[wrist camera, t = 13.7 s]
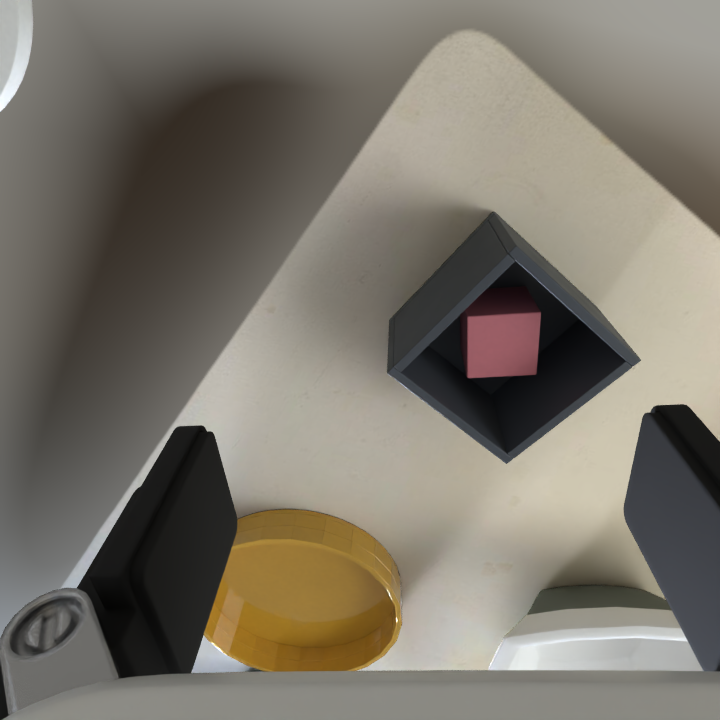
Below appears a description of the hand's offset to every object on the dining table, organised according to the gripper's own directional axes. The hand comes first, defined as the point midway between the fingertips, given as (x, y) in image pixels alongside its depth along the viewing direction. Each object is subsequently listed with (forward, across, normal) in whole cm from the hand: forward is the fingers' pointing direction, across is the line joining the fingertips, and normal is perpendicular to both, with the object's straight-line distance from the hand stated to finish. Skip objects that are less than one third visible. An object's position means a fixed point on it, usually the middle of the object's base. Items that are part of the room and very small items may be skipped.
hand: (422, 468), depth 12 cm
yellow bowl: (+25, +12, +36) cm, 46 cm away
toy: (+25, -6, +8) cm, 27 cm away
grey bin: (+25, -6, +8) cm, 27 cm away
